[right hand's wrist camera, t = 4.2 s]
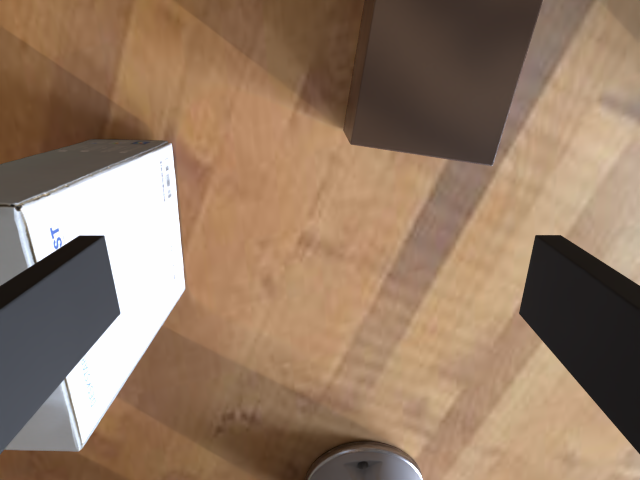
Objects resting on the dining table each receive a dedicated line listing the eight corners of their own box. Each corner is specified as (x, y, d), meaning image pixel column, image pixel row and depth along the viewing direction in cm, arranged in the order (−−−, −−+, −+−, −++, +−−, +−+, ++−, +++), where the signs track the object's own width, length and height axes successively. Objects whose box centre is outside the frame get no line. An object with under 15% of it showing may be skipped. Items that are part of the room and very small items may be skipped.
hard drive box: (88, 137, 36) (-153, 193, 18) (173, 140, 36) (21, 199, 18) (114, 289, 42) (-48, 453, 23) (188, 291, 42) (84, 456, 24)
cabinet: (390, -158, 29) (418, -254, 21) (528, -131, 30) (608, -214, 21) (343, 130, 36) (350, 144, 28) (454, 147, 37) (492, 166, 29)
